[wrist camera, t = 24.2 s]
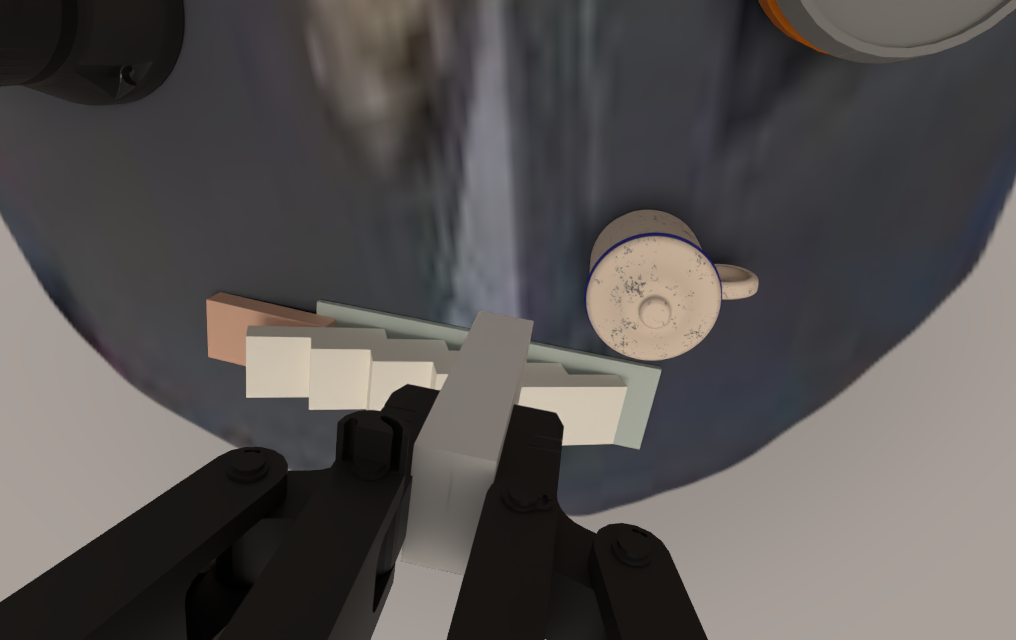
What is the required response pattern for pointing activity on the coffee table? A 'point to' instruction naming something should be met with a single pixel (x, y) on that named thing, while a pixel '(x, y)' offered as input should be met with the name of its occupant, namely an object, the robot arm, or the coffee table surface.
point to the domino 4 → (400, 372)
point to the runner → (575, 362)
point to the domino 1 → (248, 323)
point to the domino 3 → (350, 368)
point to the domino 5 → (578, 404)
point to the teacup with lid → (657, 286)
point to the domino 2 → (288, 357)
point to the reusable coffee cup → (884, 25)
